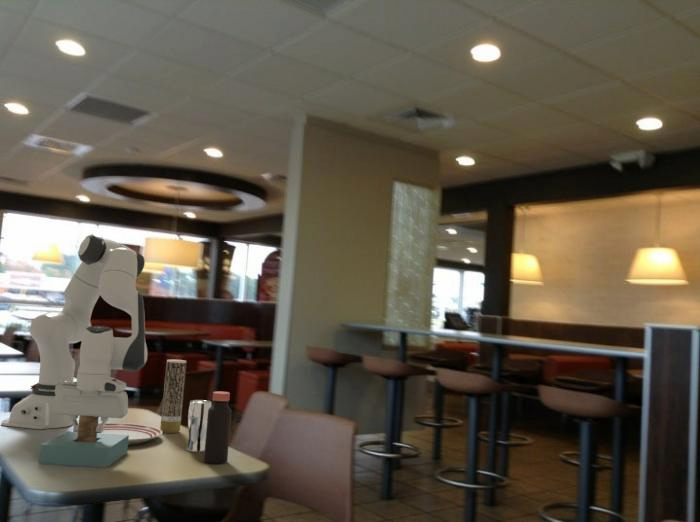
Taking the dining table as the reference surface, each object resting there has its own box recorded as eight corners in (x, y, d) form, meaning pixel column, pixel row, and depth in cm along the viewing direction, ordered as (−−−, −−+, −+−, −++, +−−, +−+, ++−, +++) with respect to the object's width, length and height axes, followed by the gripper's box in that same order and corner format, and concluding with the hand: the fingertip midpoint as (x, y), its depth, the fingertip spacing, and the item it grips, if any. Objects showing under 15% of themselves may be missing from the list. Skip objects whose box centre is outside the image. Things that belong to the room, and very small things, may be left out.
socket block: (38, 463, 164) (40, 444, 165) (65, 448, 182) (67, 431, 182) (106, 467, 165) (108, 448, 165) (127, 452, 183) (128, 435, 183)
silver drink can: (187, 447, 195) (191, 399, 196) (209, 448, 196) (213, 400, 197) (183, 452, 188) (187, 402, 189) (206, 453, 189) (210, 403, 190)
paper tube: (182, 431, 219) (189, 360, 221) (175, 434, 212) (182, 361, 214) (164, 429, 220) (171, 359, 222) (156, 432, 213) (163, 360, 215)
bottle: (207, 458, 183) (213, 390, 185) (229, 459, 183) (235, 392, 184) (200, 463, 176) (207, 393, 178) (224, 465, 176) (230, 394, 178)
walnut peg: (75, 459, 171) (79, 416, 172) (80, 456, 175) (84, 413, 176) (89, 460, 172) (93, 417, 172) (94, 456, 176) (98, 414, 176)
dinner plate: (138, 428, 219) (139, 419, 219) (177, 444, 199) (178, 433, 200) (58, 435, 200) (59, 424, 200) (92, 453, 180) (94, 441, 180)
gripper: (51, 381, 172) (45, 432, 170) (125, 386, 173) (120, 436, 172) (60, 379, 178) (55, 427, 177) (132, 383, 179) (127, 432, 178)
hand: (87, 432), depth 174 cm, fingers open, 5 cm apart
